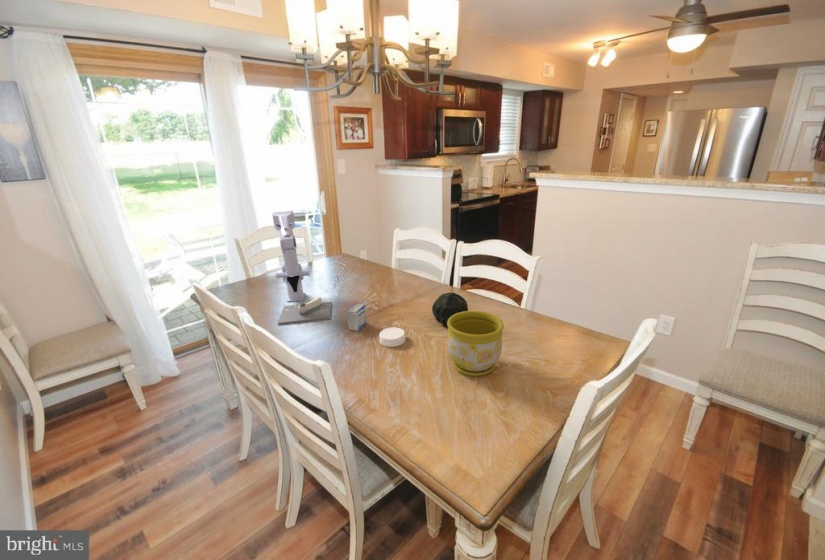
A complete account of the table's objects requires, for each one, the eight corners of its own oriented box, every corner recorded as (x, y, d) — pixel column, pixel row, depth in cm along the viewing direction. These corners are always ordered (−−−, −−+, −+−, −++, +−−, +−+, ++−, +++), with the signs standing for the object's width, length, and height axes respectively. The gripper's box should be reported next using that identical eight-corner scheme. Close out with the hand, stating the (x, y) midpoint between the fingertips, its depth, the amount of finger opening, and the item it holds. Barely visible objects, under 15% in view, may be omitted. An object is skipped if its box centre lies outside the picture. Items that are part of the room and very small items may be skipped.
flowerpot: (464, 346, 134) (465, 306, 129) (510, 362, 123) (513, 319, 118) (436, 368, 121) (436, 325, 116) (484, 388, 110) (486, 341, 105)
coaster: (382, 349, 134) (381, 341, 133) (377, 336, 143) (377, 329, 142) (408, 345, 137) (408, 336, 136) (402, 333, 146) (401, 325, 145)
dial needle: (303, 314, 161) (301, 307, 160) (296, 312, 163) (295, 305, 162) (324, 304, 171) (323, 296, 170) (318, 302, 173) (317, 295, 172)
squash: (445, 298, 163) (435, 282, 151) (476, 306, 156) (468, 290, 144) (433, 327, 158) (422, 312, 146) (465, 336, 151) (456, 322, 139)
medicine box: (358, 331, 148) (356, 312, 145) (348, 330, 149) (346, 311, 146) (366, 322, 155) (365, 304, 152) (357, 321, 156) (355, 303, 153)
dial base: (284, 307, 172) (284, 305, 172) (331, 303, 175) (331, 301, 175) (277, 325, 155) (277, 322, 155) (329, 319, 159) (329, 317, 158)
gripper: (272, 267, 157) (277, 296, 161) (307, 264, 159) (310, 293, 163) (275, 262, 163) (280, 290, 168) (308, 260, 165) (312, 287, 170)
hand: (295, 291), depth 166 cm, fingers closed
